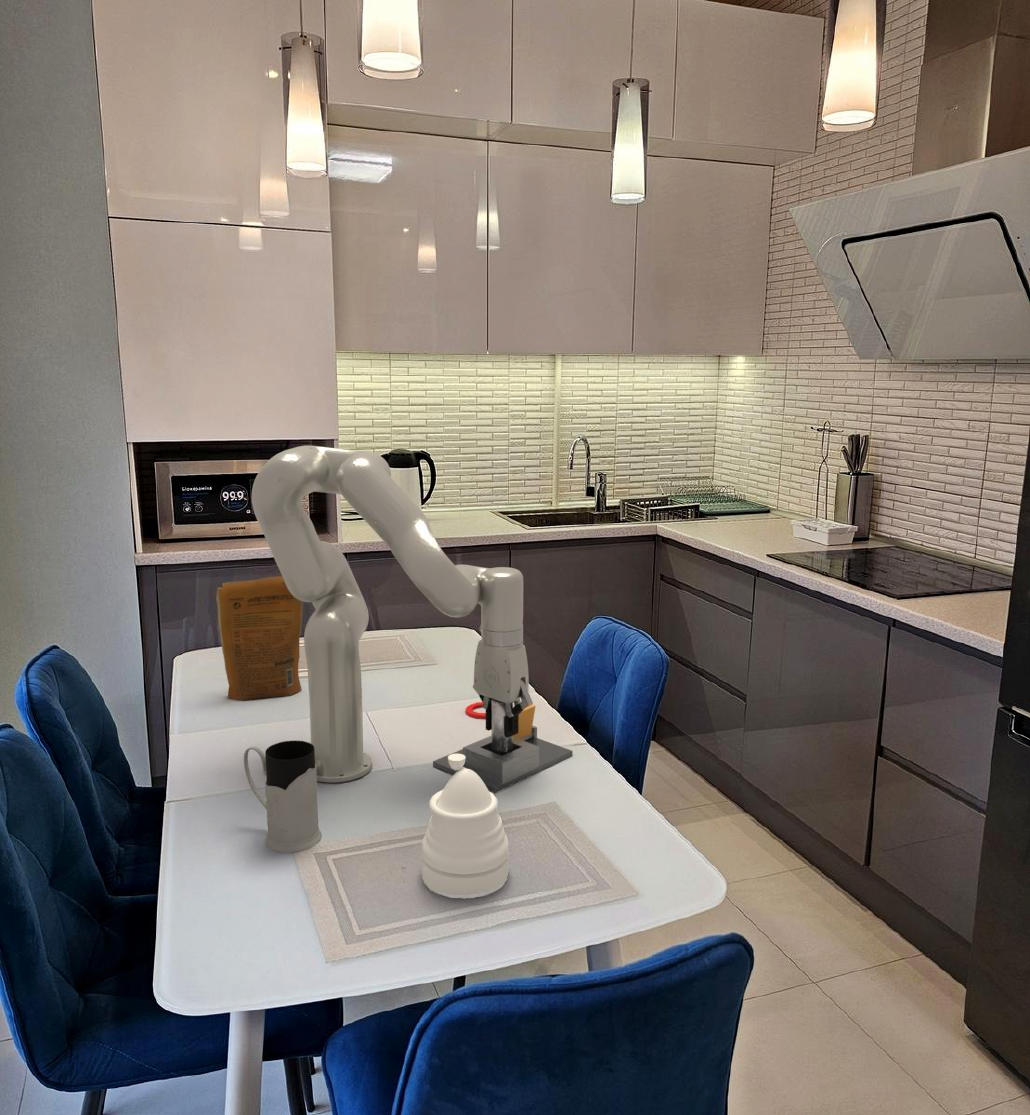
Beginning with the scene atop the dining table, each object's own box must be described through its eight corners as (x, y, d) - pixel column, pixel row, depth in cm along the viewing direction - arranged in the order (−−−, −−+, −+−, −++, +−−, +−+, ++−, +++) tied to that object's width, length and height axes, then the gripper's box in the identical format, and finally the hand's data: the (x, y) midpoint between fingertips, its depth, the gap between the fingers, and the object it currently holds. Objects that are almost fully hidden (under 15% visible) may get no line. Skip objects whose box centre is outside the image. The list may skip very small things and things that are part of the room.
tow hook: (463, 720, 194) (506, 720, 194) (460, 663, 192) (504, 662, 191) (467, 706, 202) (509, 706, 202) (465, 651, 200) (506, 650, 199)
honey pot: (404, 873, 134) (402, 760, 130) (468, 843, 143) (469, 736, 139) (461, 910, 125) (461, 790, 122) (526, 875, 134) (528, 762, 130)
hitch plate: (494, 793, 160) (494, 766, 159) (433, 766, 170) (432, 741, 169) (572, 755, 176) (573, 731, 175) (511, 733, 186) (512, 710, 185)
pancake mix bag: (310, 696, 206) (305, 576, 200) (222, 705, 200) (215, 582, 194) (306, 686, 212) (302, 570, 206) (221, 695, 206) (214, 575, 200)
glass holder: (295, 858, 138) (291, 766, 135) (228, 834, 145) (223, 746, 142) (333, 833, 145) (330, 746, 142) (267, 812, 152) (263, 728, 149)
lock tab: (505, 750, 176) (510, 716, 173) (501, 747, 176) (507, 713, 174) (531, 738, 181) (536, 705, 179) (527, 736, 182) (533, 703, 179)
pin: (502, 753, 165) (502, 696, 162) (486, 747, 167) (486, 691, 165) (517, 747, 167) (517, 690, 165) (501, 741, 170) (501, 685, 168)
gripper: (454, 631, 166) (455, 725, 169) (522, 650, 155) (522, 750, 158) (483, 623, 171) (483, 714, 175) (551, 641, 160) (549, 738, 164)
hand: (502, 730), depth 167 cm, fingers closed on pin, 4 cm apart
